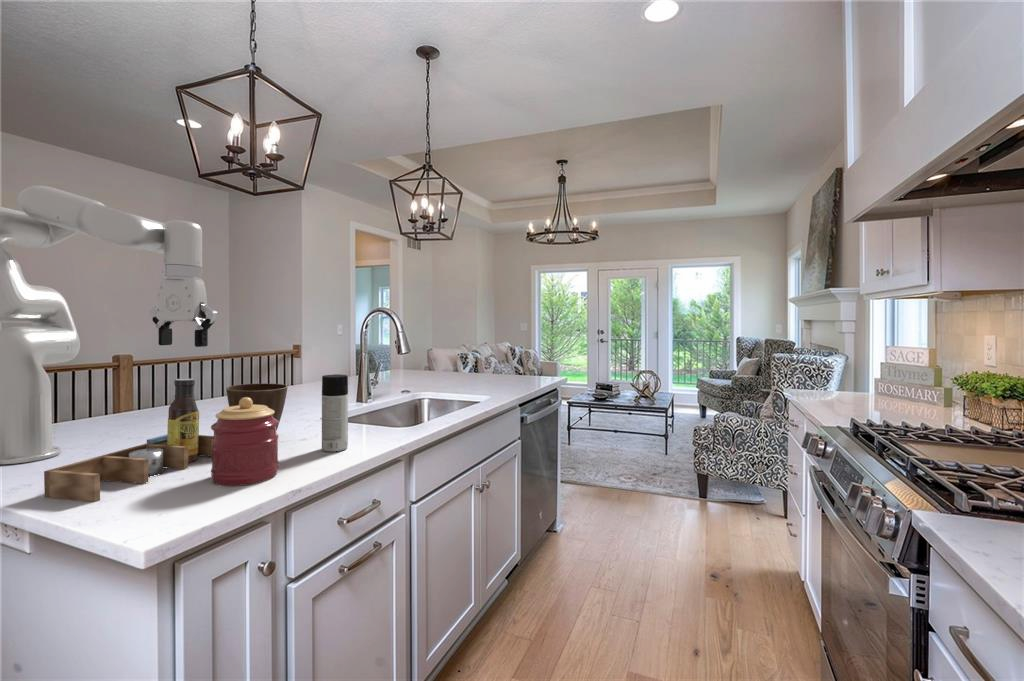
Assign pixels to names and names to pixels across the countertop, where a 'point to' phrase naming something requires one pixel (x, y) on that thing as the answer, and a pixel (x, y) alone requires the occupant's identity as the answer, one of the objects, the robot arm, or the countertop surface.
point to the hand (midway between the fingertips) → (183, 345)
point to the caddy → (115, 469)
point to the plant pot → (260, 396)
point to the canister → (244, 444)
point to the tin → (151, 459)
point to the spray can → (334, 412)
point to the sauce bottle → (184, 418)
